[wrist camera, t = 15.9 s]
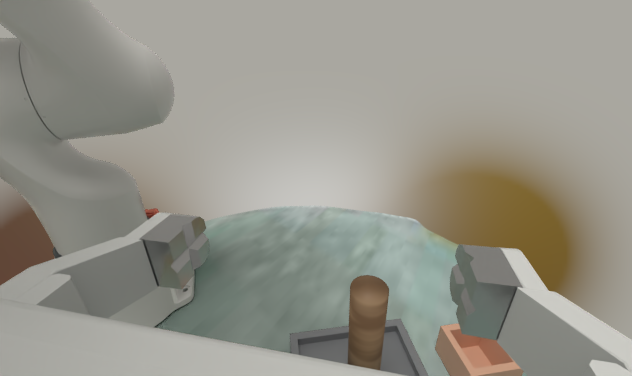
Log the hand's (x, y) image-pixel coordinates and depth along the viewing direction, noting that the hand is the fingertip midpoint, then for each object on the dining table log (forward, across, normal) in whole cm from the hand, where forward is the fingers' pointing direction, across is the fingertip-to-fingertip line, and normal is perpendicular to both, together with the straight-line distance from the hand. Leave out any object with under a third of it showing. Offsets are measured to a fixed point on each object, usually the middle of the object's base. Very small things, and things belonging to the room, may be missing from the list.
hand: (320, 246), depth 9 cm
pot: (+20, -16, +32) cm, 41 cm away
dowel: (+14, -2, +31) cm, 34 cm away
